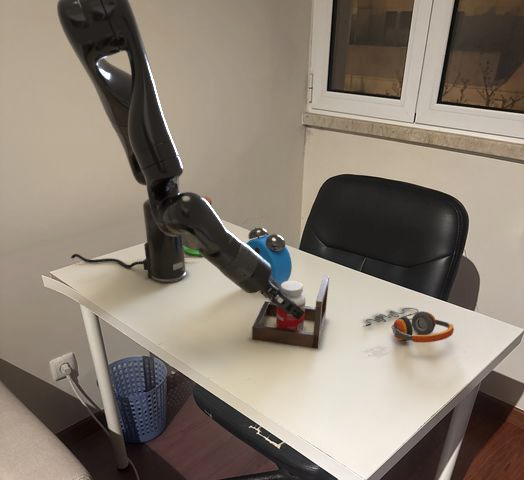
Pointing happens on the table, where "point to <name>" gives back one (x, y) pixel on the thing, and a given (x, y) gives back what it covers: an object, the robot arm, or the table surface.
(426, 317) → the headphones
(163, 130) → the robot arm
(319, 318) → the wooden frame
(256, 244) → the alarm clock
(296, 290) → the pill bottle
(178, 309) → the table surface
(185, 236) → the multicoloured stacked figure
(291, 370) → the table surface
